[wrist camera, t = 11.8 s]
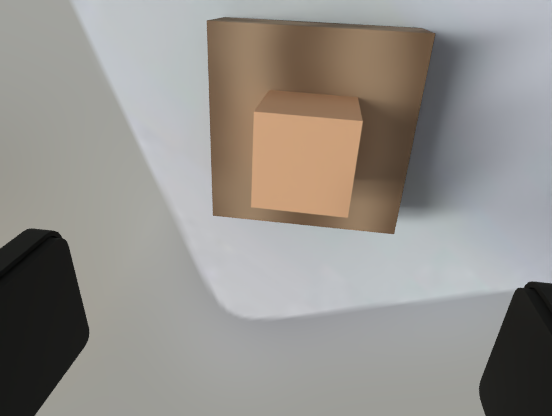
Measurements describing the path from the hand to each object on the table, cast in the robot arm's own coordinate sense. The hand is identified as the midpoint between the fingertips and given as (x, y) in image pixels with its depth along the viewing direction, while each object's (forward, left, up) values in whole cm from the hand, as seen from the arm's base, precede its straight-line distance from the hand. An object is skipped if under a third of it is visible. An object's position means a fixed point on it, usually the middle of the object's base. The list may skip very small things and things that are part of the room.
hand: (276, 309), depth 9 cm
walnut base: (0, +2, -21) cm, 21 cm away
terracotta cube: (0, +1, -17) cm, 17 cm away
